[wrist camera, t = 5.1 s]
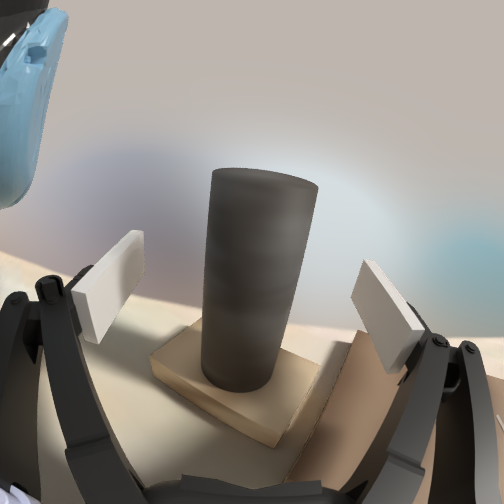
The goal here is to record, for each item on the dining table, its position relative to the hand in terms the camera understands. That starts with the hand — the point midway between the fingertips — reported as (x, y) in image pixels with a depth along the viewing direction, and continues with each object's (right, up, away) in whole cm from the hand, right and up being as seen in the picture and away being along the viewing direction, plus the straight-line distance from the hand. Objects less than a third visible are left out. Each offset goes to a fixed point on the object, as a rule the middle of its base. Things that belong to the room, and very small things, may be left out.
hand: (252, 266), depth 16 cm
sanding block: (-1, -8, +1) cm, 8 cm away
